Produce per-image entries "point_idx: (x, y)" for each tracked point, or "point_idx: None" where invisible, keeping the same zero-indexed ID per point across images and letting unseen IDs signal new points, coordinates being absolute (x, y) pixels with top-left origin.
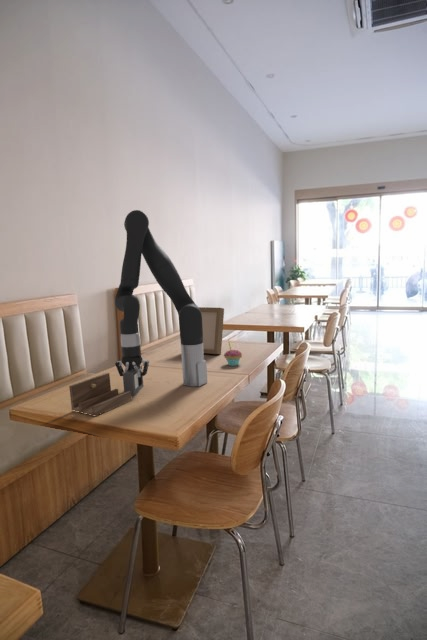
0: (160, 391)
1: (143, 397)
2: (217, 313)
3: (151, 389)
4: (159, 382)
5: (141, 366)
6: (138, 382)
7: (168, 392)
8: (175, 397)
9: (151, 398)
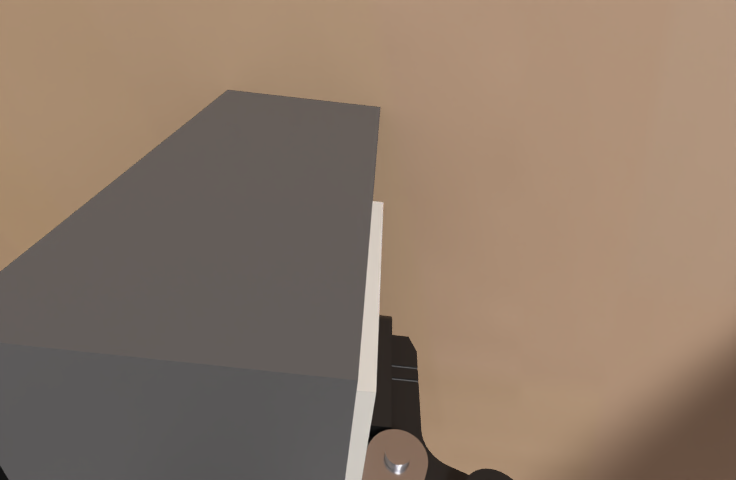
0: (618, 333)
1: (441, 440)
2: None
3: (512, 256)
4: None
5: (355, 396)
6: None
7: (701, 370)
8: (727, 474)
9: (514, 464)
